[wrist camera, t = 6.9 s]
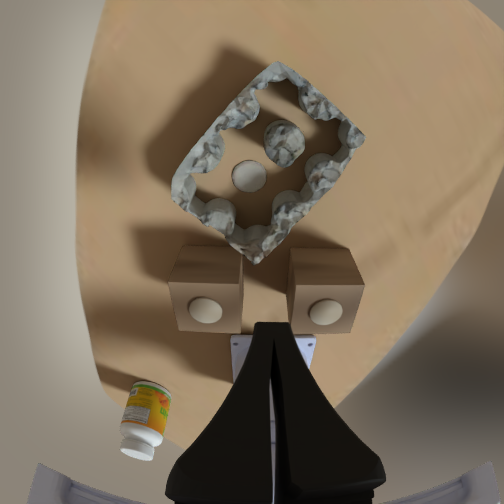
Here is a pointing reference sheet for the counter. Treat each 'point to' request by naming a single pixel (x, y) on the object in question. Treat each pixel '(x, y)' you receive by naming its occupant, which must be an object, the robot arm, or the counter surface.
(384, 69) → the counter surface
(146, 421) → the supplement bottle
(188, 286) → the dotted block
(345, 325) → the dotted block
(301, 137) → the egg carton
